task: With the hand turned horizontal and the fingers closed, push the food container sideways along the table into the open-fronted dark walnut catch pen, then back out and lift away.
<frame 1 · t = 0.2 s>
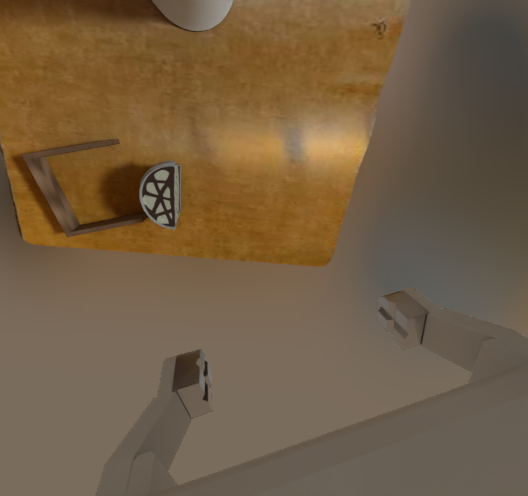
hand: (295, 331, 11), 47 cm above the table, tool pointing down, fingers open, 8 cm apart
food container: (165, 186, 52), on the table
catch pen: (96, 188, 50), on the table
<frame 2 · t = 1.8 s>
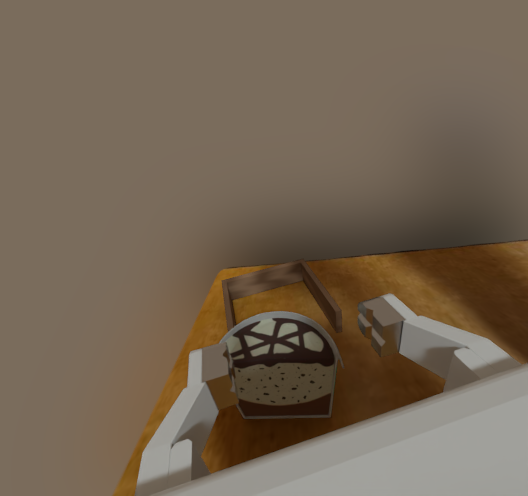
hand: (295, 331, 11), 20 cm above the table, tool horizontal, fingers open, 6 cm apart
food container: (286, 390, 29), on the table
catch pen: (274, 312, 41), on the table
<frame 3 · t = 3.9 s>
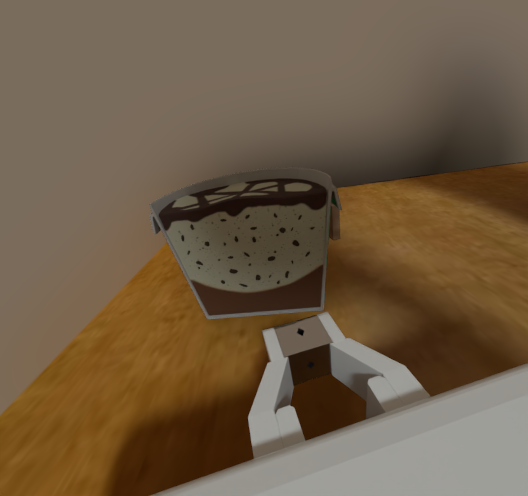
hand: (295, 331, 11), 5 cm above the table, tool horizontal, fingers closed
food container: (266, 292, 22), on the table
catch pen: (258, 230, 34), on the table
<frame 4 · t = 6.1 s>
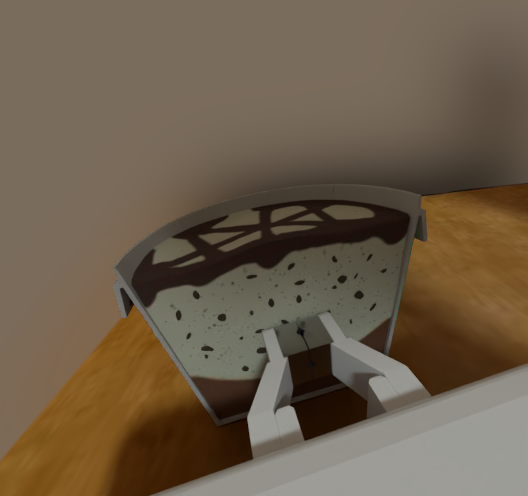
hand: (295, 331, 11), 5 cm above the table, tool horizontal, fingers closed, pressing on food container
food container: (288, 356, 16), on the table, touching gripper
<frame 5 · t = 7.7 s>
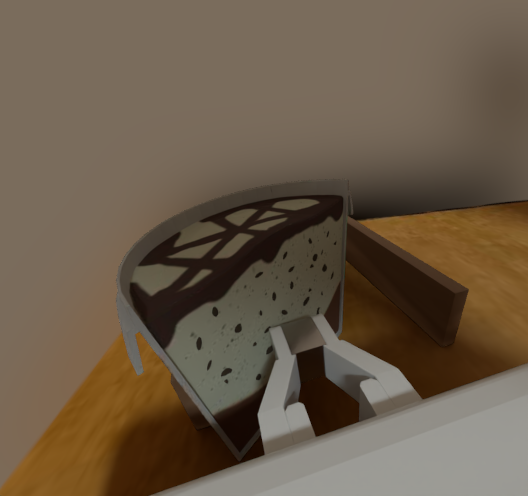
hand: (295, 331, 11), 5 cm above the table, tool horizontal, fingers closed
food container: (262, 358, 16), on the table, touching catch pen, gripper
catch pen: (286, 301, 20), on the table
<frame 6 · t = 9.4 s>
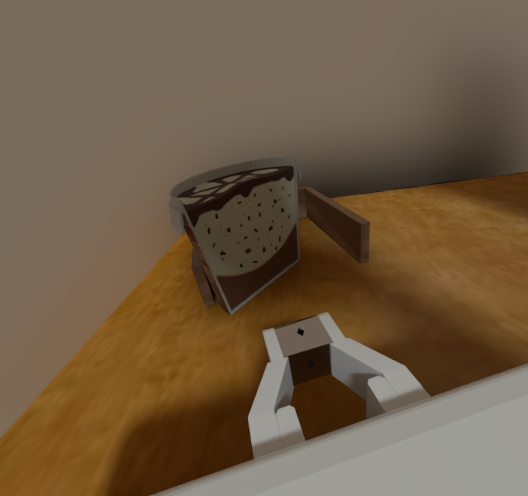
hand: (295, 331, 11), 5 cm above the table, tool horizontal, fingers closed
food container: (247, 276, 25), on the table, touching catch pen
catch pen: (267, 247, 29), on the table
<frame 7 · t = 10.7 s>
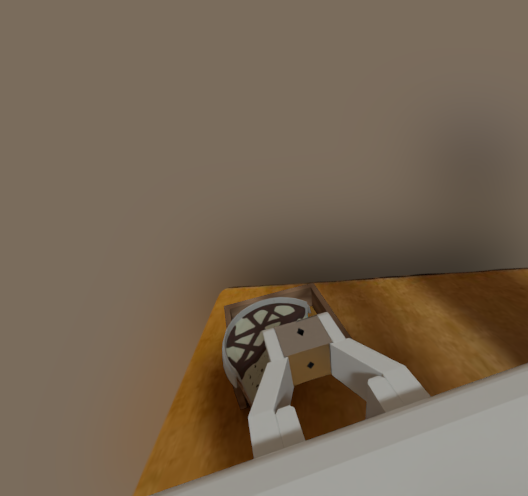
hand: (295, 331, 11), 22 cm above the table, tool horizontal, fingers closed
food container: (268, 376, 33), on the table
catch pen: (282, 343, 37), on the table
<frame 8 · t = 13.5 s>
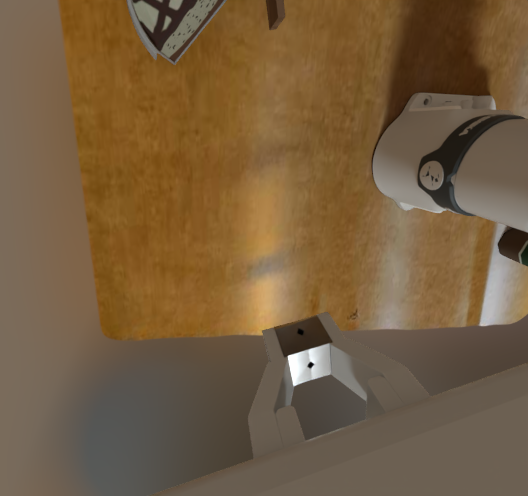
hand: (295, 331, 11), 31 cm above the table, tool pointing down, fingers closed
beer bottle: (510, 239, 57), on the table
food container: (178, 8, 29), on the table
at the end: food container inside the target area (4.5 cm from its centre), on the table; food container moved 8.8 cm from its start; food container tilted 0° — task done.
